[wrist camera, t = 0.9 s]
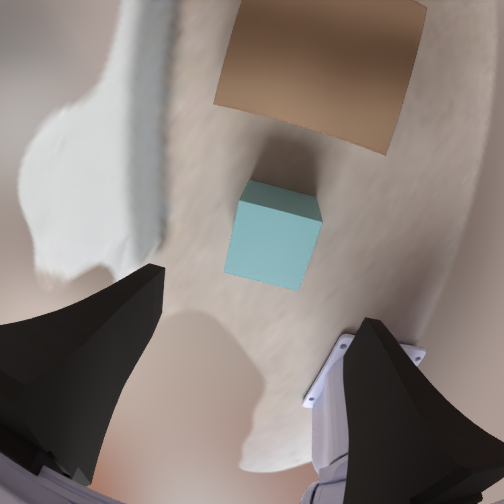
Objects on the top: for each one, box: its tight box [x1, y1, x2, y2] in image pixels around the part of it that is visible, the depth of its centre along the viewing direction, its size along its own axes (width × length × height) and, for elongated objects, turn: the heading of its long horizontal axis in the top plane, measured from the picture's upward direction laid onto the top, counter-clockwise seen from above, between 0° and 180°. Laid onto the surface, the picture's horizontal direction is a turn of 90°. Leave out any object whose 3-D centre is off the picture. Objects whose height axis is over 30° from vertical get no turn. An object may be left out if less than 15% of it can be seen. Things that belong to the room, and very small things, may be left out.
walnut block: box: [213, 0, 427, 156], centre depth 13 cm, size 8×8×4 cm
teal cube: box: [224, 180, 323, 291], centre depth 17 cm, size 4×4×4 cm
